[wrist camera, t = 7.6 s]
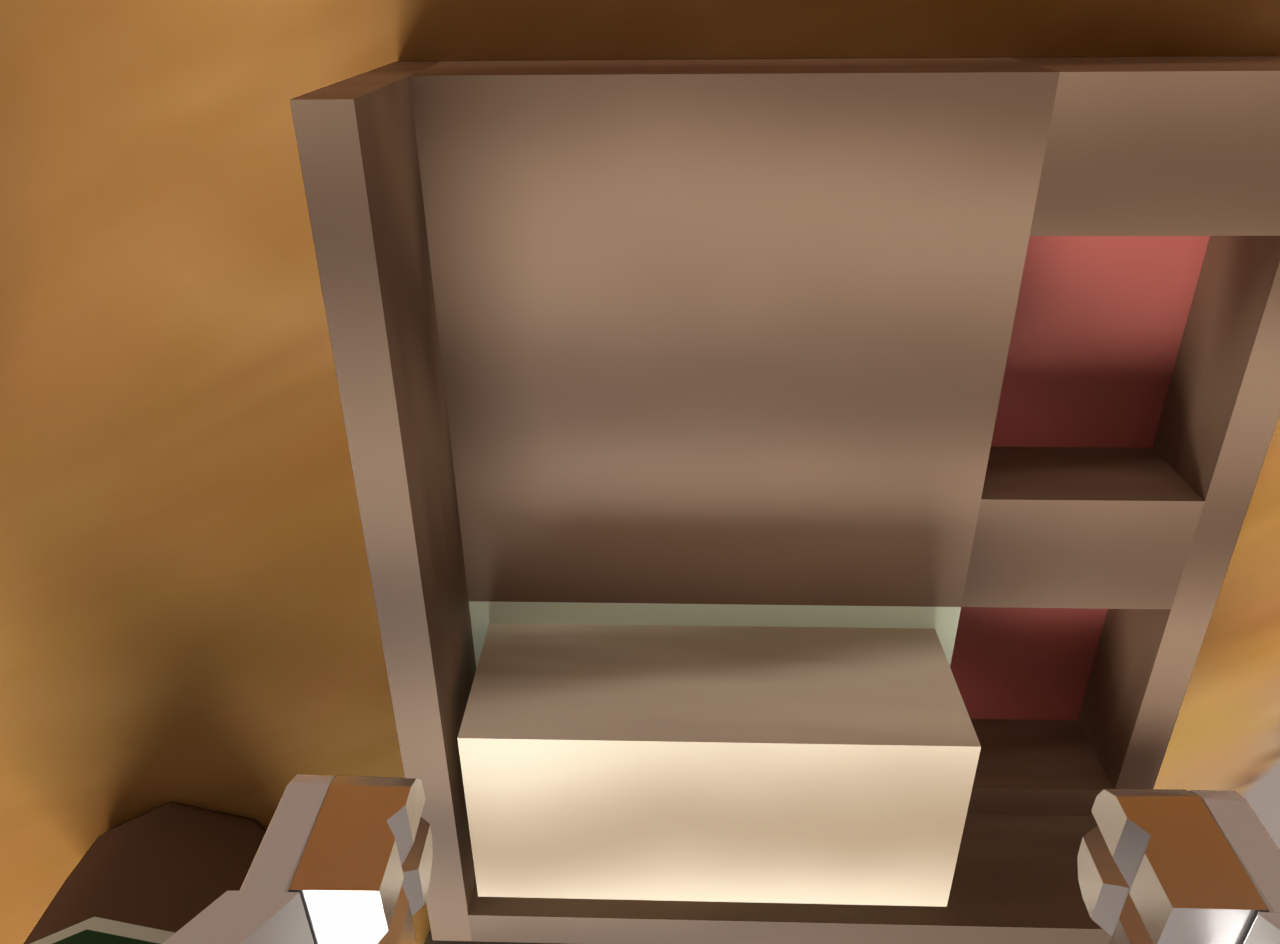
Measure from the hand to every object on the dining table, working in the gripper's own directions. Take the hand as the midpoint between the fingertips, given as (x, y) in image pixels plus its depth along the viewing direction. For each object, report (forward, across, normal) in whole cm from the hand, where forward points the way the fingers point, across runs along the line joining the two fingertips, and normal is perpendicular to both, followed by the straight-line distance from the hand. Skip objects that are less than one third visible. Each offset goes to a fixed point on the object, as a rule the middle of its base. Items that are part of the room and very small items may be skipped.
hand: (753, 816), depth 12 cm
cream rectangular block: (+10, 0, +8) cm, 13 cm away
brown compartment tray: (+14, -2, +3) cm, 14 cm away
